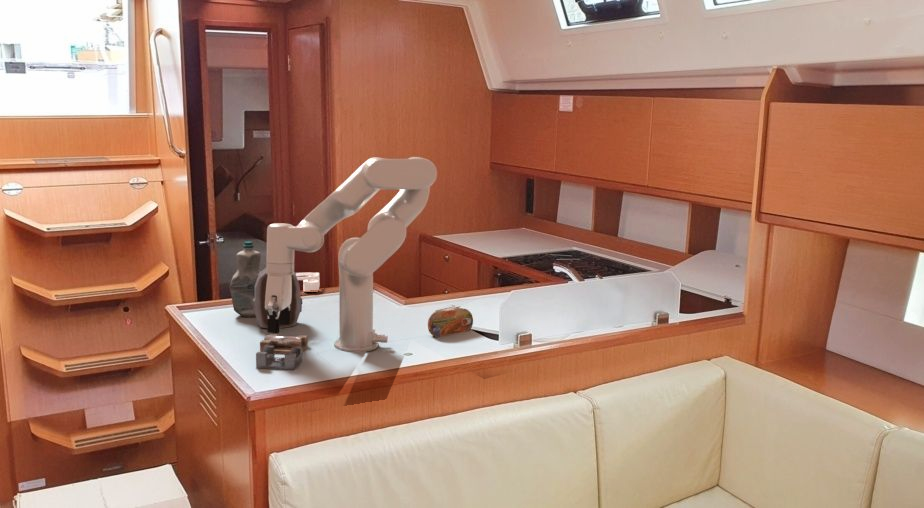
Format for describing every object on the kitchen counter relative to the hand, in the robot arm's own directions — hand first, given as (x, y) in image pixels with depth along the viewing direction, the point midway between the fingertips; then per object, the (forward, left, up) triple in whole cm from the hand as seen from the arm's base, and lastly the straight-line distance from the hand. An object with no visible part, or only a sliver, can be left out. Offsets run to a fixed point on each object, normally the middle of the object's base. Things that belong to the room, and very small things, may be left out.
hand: (278, 328), depth 212 cm
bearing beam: (-1, 0, -6) cm, 6 cm away
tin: (-46, -21, -6) cm, 51 cm away
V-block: (-4, +14, -6) cm, 16 cm away
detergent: (+20, -34, -6) cm, 40 cm away
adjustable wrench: (-41, -34, -6) cm, 54 cm away
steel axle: (-1, 0, -4) cm, 4 cm away
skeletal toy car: (+15, -69, -6) cm, 71 cm away
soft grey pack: (+8, -23, -6) cm, 25 cm away
